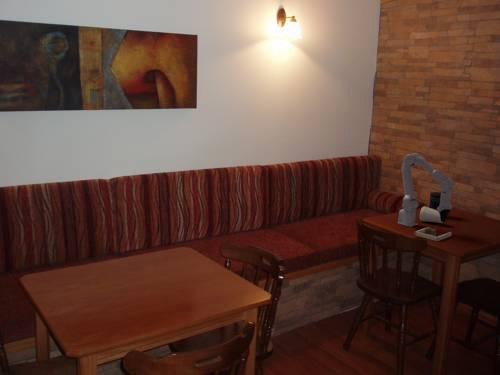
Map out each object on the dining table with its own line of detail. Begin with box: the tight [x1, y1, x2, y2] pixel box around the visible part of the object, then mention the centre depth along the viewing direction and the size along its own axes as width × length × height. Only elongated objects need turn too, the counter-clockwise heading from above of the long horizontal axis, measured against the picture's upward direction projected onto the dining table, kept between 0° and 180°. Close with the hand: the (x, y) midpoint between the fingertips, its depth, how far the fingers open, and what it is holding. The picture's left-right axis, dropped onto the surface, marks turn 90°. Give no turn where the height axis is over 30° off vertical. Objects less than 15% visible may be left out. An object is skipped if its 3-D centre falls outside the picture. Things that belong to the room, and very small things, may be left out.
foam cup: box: [419, 205, 444, 224], centre depth 320 cm, size 10×9×13 cm
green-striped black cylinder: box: [428, 191, 441, 210], centre depth 336 cm, size 10×10×15 cm
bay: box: [413, 226, 453, 242], centre depth 294 cm, size 14×16×2 cm
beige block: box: [424, 226, 437, 237], centre depth 292 cm, size 4×4×4 cm
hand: (443, 221), depth 300 cm, fingers closed
